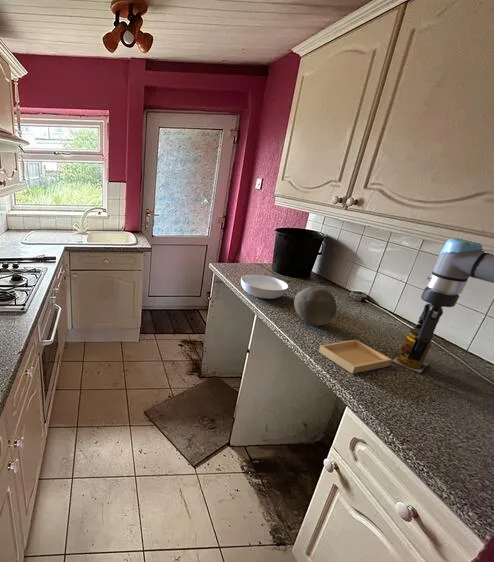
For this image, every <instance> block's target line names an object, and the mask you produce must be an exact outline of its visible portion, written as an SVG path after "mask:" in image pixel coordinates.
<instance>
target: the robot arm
mask: <svg viewBox="0 0 494 562" xmlns="http://www.w3.org/2000/svg"><path fill="white" fill-rule="evenodd" d="M459 238H460V237H453V238H449V239H448V240H446V241H445V242H446V243H445V244H444V246H443V247H442V249H441V251H440V252H439V255H438V258H437V260H436V262H435V264H434V268H433V270H432V271H431V274H430V276H428V275H427V276H426V280H428V281H427V283H426V287H424V290H423V291H422V293H421V295H420V298H421V300H422V301H424V302H426V304H425V305H424V307H423V310H422V313H421V314H420V316H419V317H418V321H417V324H416V325H415V328H417V329H421V330H420V333H419V335H418V338H414V339H413V340H415V342H414V345H413V347H412V349H411V351H410V353H409V355H408V358H410V359H413V360H416V361H420V359H421V357H422V355H423V353H424V351H425V349H426V347H427V345H428V344H430V340H431V338H432V335H433V336H434V333H435V330H436V328H437V325H438V323H439V322H440V318H441V317H442V315H443V314H444V311H443V310H444V308H445V307H446V308H453V307H455V306H456V304H457V302H458V300H459V299H460V295H461V294H462V292H463V291H464V289H465V287H466V285H467V283H468V280H469V278H473V279H476V280H477V279H478V280H481V281H485V282H489V283H493V284H494V255H493V254H490V253H484V252H485V251H486V250H484V251H482V250H483V249H482V245H481V244H480V243H476V242H472V241H468V240H463V239H464V238H461V239H459ZM423 338H425V339H423ZM432 339H433V338H432ZM431 341H432V340H431Z"/></svg>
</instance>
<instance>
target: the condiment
mask: <svg viewBox="0 0 494 562" xmlns="http://www.w3.org/2000/svg"><path fill="white" fill-rule="evenodd" d="M420 330H421V329H417V328H416V327H414V328H410V331H409V333H408V335H406V336H405V339H404V341H403V343H402V346H401V348H400V350H399V352H398V355H396V356H395V357H394V358H393V359H392V362H393V363H395V364H398V365H400V366H402V367H404V368H406V369H409V370H412V371H415V372H417V373H422V372H423V371H424V370H425V369H426V368H427V367H428V365H429V363H427V362H425V359H426V357H427V355H428V353H429V350H430V348H431V347H432V340H433V338H434V334H433V335H432V338H431V340H430V344H428V345H427V347H426V349H425V351H424V353H423V355H422V357H421V359H420V361H416V360H413V359H410V358H408V355H409V353H410V351H411V349H412V347H413V345H414V342H415V340H413V339H414V338H418V335H419V333H420ZM423 339H425V338H423Z"/></svg>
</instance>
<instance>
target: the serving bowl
mask: <svg viewBox="0 0 494 562" xmlns="http://www.w3.org/2000/svg"><path fill="white" fill-rule="evenodd" d="M240 285H241V287H242V289H243V290H244V291H245V292H246V293H247V294H249V295H251V296H254V297H255V298H256V297H257V298H260V299H270V300H273V299H277V298H280V297H283V296H284V295H285V294H286V293H287V291H288V289H289V285H288V284H287V283H286V282H285V281H283V280H281V279H278V278H276V277H272V276H267V275H262V274H247V275H243V276H241V278H240Z"/></svg>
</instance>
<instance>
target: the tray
mask: <svg viewBox="0 0 494 562" xmlns="http://www.w3.org/2000/svg"><path fill="white" fill-rule="evenodd" d="M318 353H319V354H321V355H323V356H324V357H325V358H327V359H329V360H330V361H332V362H333V363H335V364H336V365H338V366H339V367H341V368H342V369H344V370H345V371H347V372H348V373H350V374H359V373H364V372H368V371H371V370H376V369H377V370H378V369H382V368H387V367H390V366H391V364H392V362H393V361H392V360H393V359H392V358H391V357H388V356H387V355H386V354H383V353H381V352H380V351H377V350H376V349H374V348H373V347H370V346H368V345H367V344H365V343H363V342H362V341H359V340H357V339H352V340H351V339H350V340H344V341H340V342H334V343H328V344H322V345H320V346H319V349H318Z"/></svg>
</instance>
